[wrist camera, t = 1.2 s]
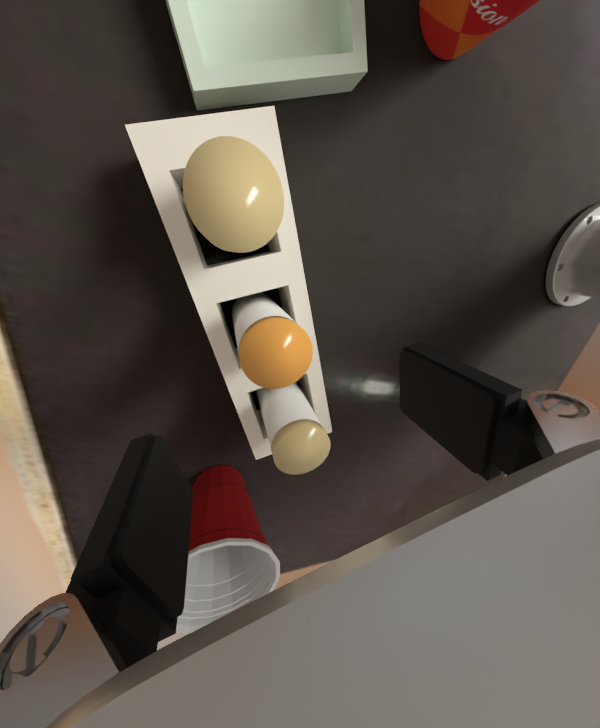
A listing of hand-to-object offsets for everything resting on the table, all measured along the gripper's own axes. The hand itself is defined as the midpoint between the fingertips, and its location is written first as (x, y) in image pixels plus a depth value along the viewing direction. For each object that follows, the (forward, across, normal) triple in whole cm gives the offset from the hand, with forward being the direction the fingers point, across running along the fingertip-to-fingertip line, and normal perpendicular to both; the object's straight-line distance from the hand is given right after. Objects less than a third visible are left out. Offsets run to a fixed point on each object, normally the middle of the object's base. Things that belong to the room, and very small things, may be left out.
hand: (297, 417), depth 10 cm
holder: (+17, -1, 0) cm, 17 cm away
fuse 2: (+17, -1, +8) cm, 19 cm away
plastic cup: (+17, +9, +19) cm, 27 cm away
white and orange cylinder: (+17, -1, 0) cm, 17 cm away
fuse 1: (+17, -1, -8) cm, 19 cm away
